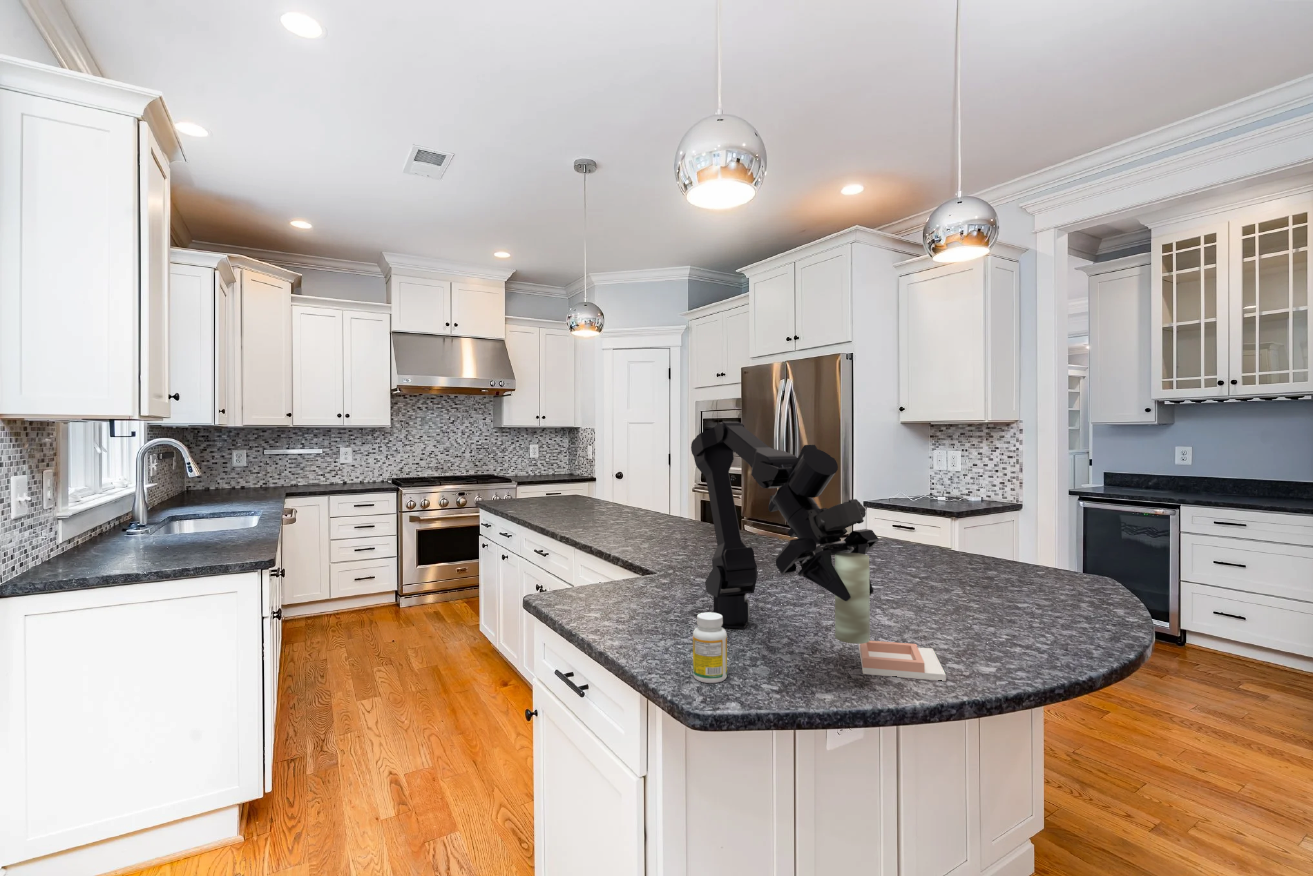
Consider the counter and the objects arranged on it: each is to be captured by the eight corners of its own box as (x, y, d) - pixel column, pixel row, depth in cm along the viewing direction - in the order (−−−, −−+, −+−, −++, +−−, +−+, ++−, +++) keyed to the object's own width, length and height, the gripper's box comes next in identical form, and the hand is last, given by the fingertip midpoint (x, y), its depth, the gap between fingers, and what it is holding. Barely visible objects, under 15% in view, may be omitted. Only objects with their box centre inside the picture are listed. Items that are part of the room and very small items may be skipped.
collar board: (862, 673, 97) (862, 658, 97) (858, 648, 109) (858, 634, 109) (945, 681, 94) (945, 664, 94) (932, 654, 106) (932, 639, 106)
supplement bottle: (714, 686, 93) (713, 623, 93) (685, 678, 96) (685, 616, 96) (734, 676, 97) (733, 614, 97) (706, 668, 101) (705, 609, 101)
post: (835, 642, 92) (834, 558, 92) (835, 632, 97) (834, 552, 97) (870, 645, 91) (870, 559, 91) (868, 634, 95) (868, 553, 95)
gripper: (789, 486, 92) (850, 574, 83) (868, 480, 102) (931, 557, 93) (752, 532, 98) (806, 618, 89) (830, 522, 109) (885, 598, 100)
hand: (859, 596), depth 93 cm, fingers closed on post, 5 cm apart
